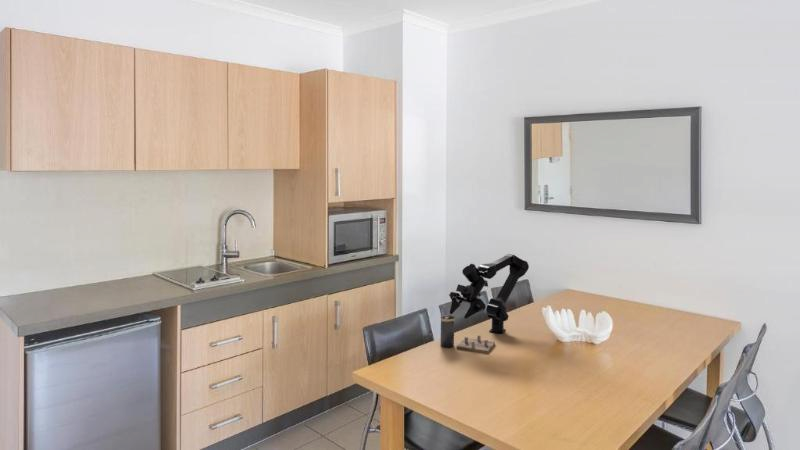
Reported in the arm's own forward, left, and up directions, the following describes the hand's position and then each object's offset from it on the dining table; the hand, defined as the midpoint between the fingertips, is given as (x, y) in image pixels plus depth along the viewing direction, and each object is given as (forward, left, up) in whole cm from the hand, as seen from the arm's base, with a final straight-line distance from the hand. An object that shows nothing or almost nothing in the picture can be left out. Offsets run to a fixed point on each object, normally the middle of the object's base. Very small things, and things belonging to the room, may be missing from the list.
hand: (457, 315), depth 245 cm
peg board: (+1, +9, -12) cm, 16 cm away
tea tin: (+5, -3, -12) cm, 14 cm away
